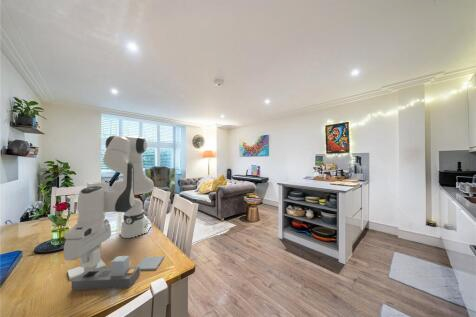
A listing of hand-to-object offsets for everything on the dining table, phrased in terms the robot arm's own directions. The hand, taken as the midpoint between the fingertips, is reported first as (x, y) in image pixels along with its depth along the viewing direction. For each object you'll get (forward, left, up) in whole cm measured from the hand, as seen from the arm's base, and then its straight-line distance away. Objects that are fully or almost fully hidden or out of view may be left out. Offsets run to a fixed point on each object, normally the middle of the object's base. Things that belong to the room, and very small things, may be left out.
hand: (90, 258), depth 72 cm
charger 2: (0, +12, -6) cm, 14 cm away
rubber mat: (-12, +19, -10) cm, 25 cm away
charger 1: (0, 0, -4) cm, 4 cm away
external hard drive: (-10, -9, -11) cm, 17 cm away
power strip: (0, +7, -10) cm, 12 cm away
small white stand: (-65, -44, -10) cm, 79 cm away
